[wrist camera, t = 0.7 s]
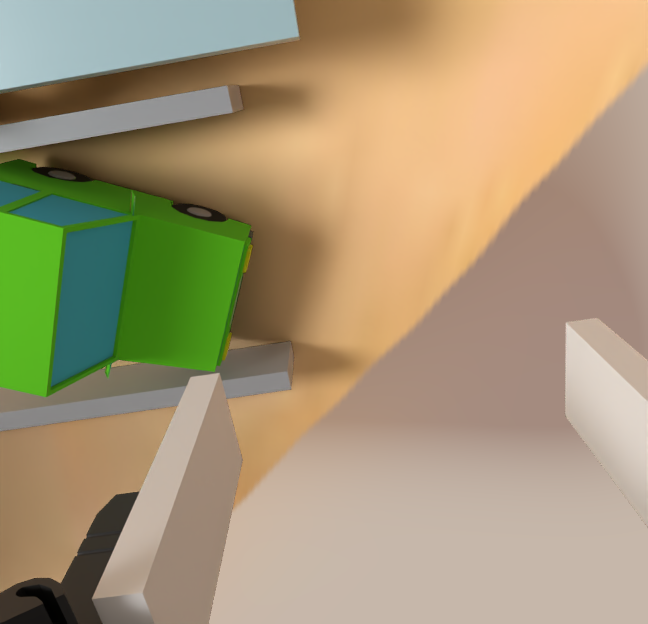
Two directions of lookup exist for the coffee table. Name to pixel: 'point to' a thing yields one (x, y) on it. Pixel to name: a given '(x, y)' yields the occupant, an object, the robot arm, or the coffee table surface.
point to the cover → (129, 35)
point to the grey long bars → (140, 379)
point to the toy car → (109, 279)
